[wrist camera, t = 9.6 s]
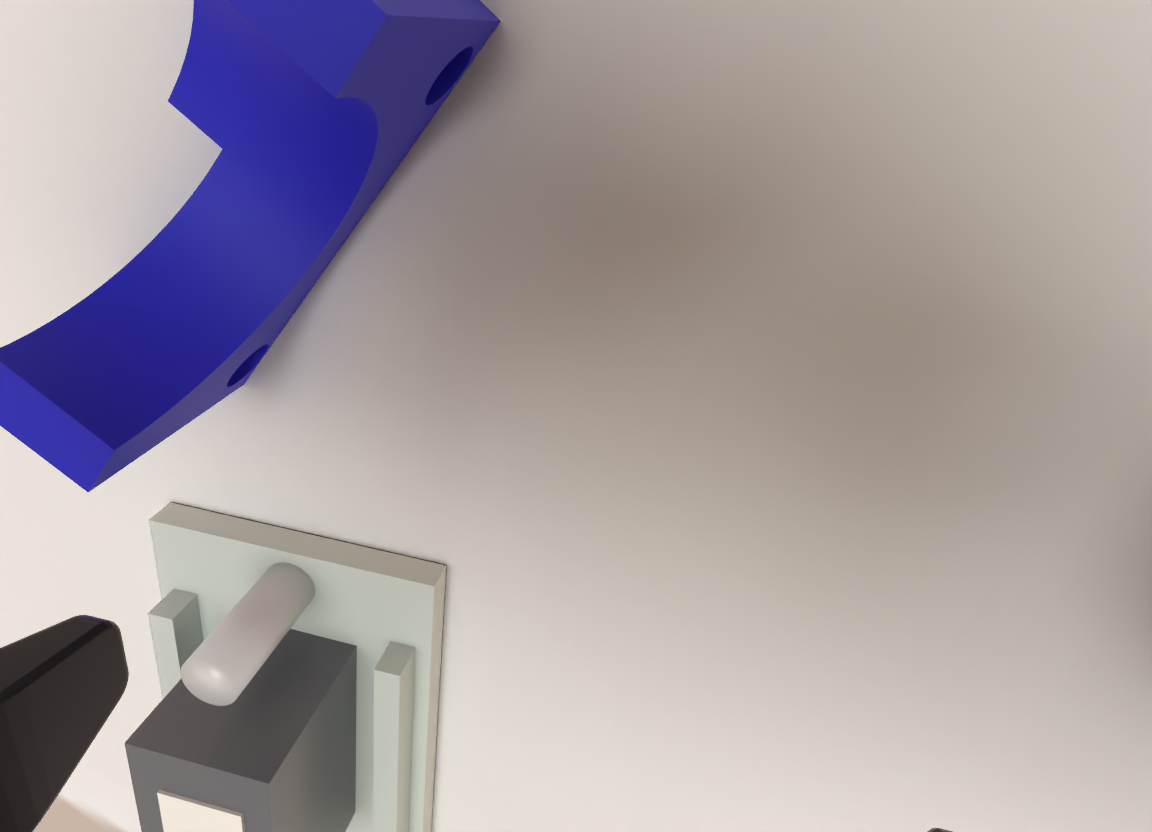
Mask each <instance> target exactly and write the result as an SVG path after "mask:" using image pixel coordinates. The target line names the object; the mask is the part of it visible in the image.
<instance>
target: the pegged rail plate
mask: <svg viewBox="0 0 1152 832" xmlns="http://www.w3.org/2000/svg"><path fill="white" fill-rule="evenodd" d="M149 524H150V530H151V536H152V542H153V549H154V555H155V561H156V567H157V573H158V580H159V586H160V592H161V598H162V600H161V601H160V602H159V603H158V604H157V605H156V606H155V607H154V608H153V609H152V610H151V611H150V612H149V613H148V617H149V622H150V628H151V634H152V640H153V646H154V651H155V657H156V663H157V669H158V674H159V680H160V686H161V692H162V697H163V699H164V698H165V696H166V695H167V694H168V693H169V692H170V691H171V690H172V688H173V687H174V686H175V685H176V684H177V683H178V682H179V680H180V679H181V678H182V681H183V683H184V685H185V686H186V688H187V689H188V690H189V691H190V692H191V693H192V694H193V695H194V696H196V697H197V698H199V699H200V700H202V701H204V702H206V703H209V704H212V705H217V706H225V705H229V704H231V703H233V702H234V701H235V700H236V699H237V698H238V696H239V695H240V694H241V692H242V691H243V690H244V688H245V687H246V686H247V685H248V683H249V682H250V681H251V679H252V678H253V677H254V675H255V674H256V673H257V671H258V670H259V669H260V668H261V666H262V665H263V664H264V662H265V661H266V660H267V658H268V657H269V656H270V654H271V653H272V652H273V651H274V649H275V648H276V647H277V645H278V644H279V643H280V641H281V640H282V639H283V637H284V636H285V635H286V634H287V632H288V631H289V630H290V629H294V630H297V631H301V632H305V633H309V634H313V635H317V636H321V637H325V638H329V639H332V640H336V641H340V642H344V643H348V644H352V645H356V646H357V678H356V804H355V814H354V816H353V818H352V820H351V822H350V824H349V826H348V828H347V830H346V832H431V826H432V809H433V791H434V773H435V756H436V738H437V721H438V703H439V685H440V668H441V650H442V632H443V615H444V597H445V579H446V565H442V564H438V563H433V562H429V561H424V560H420V559H416V558H411V557H407V556H403V555H398V554H394V553H390V552H385V551H381V550H376V549H372V548H368V547H363V546H359V545H355V544H350V543H346V542H342V541H337V540H333V539H328V538H324V537H320V536H315V535H311V534H307V533H302V532H298V531H294V530H289V529H285V528H280V527H276V526H272V525H267V524H263V523H259V522H254V521H250V520H246V519H241V518H237V517H232V516H228V515H224V514H219V513H215V512H211V511H206V510H202V509H198V508H193V507H189V506H184V505H180V504H176V503H171V502H170V503H169V504H168V505H167V506H166V507H164V508H163V509H162V510H161V511H159V512H158V513H157V514H156V515H155V516H153V517H152V518H151V519H150V520H149Z"/></svg>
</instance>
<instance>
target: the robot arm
mask: <svg viewBox="0 0 1152 832" xmlns="http://www.w3.org/2000/svg"><path fill="white" fill-rule="evenodd" d="M128 675H129V673H128V667H127V662H126V657H125V652H124V647H123V642H122V637H121V632H120V629H119V627H118V626H117V625H116V624H115V623H114V622H112V621H109V620H105V619H101V618H97V617H93V616H88V615H79V616H75V617H72V618H70V619H67V620H65V621H63V622H60V623H58V624H56V625H53V626H51V627H49V628H46V629H44V630H42V631H39V632H37V633H35V634H32V635H30V636H28V637H25V638H23V639H21V640H18V641H16V642H14V643H11V644H9V645H7V646H4V647H2V648H0V832H32V831H33V830H34V829H35V827H36V826H37V825H38V823H39V822H40V821H41V819H42V818H43V816H44V815H45V813H46V812H47V810H48V809H49V807H50V806H51V805H52V803H53V802H54V800H55V799H56V797H57V796H58V794H59V793H60V791H61V790H62V788H63V786H64V785H65V783H66V782H67V780H68V779H69V777H70V776H71V774H72V773H73V771H74V769H75V768H76V766H77V765H78V763H79V762H80V760H81V759H82V757H83V756H84V754H85V752H86V751H87V749H88V748H89V746H90V745H91V743H92V742H93V740H94V739H95V737H96V735H97V734H98V732H99V731H100V729H101V728H102V726H103V725H104V723H105V722H106V720H107V718H108V717H109V715H110V714H111V712H112V711H113V709H114V708H115V706H116V705H117V703H118V701H119V700H120V698H121V697H122V695H123V693H124V691H125V688H126V685H127V682H128ZM928 832H952V831H948V830H944V829H940V828H933V829H931V830H929V831H928Z"/></svg>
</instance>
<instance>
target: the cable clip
mask: <svg viewBox="0 0 1152 832" xmlns="http://www.w3.org/2000/svg"><path fill="white" fill-rule="evenodd" d="M499 23H500V20H499V19H498V18H497V17H496V16H495V15H494V14H493V13H492V12H491V11H490V10H489V9H488V8H487V7H486V6H485V5H484V4H483V3H481V2H480V1H479V0H194V11H193V23H192V30H191V37H190V41H189V45H188V49H187V53H186V57H185V60H184V63H183V66H182V69H181V72H180V75H179V77H178V79H177V82H176V84H175V87H174V89H173V91H172V93H171V95H170V98H169V100H168V102H170V103H171V104H172V105H173V106H174V107H175V108H176V109H178V110H179V111H180V112H181V113H182V114H183V115H184V116H186V117H187V118H188V119H189V120H190V121H191V122H193V123H194V124H195V125H196V126H197V127H198V128H199V129H201V130H202V131H203V132H204V133H205V134H206V135H207V136H209V137H210V138H211V139H212V140H213V141H214V142H215V143H217V144H218V145H219V146H220V147H221V148H222V151H221V153H220V155H219V156H218V158H217V159H216V161H215V163H214V164H213V166H212V167H211V169H210V170H209V172H208V174H207V175H206V176H205V178H204V179H203V181H202V182H201V183H200V185H199V186H198V188H197V189H196V190H195V192H194V193H193V194H192V196H191V197H190V198H189V199H188V201H187V202H186V203H185V205H184V206H183V207H182V208H181V209H180V211H179V212H178V213H177V214H176V215H175V216H174V218H173V219H172V220H171V221H170V222H169V223H168V224H167V225H166V227H165V228H164V229H163V230H162V231H161V232H160V233H159V234H158V235H157V236H156V237H155V238H154V239H153V240H152V241H151V242H150V243H149V244H148V245H147V246H146V247H145V248H144V249H143V250H142V251H141V252H140V253H139V254H138V255H137V256H136V257H135V258H134V259H132V260H131V261H130V262H129V263H128V264H127V265H126V266H125V267H124V268H123V269H121V270H120V271H119V272H118V273H117V274H115V275H114V276H113V277H112V278H111V279H109V280H108V281H107V282H106V283H105V284H103V285H102V286H101V287H99V288H98V289H97V290H95V291H94V292H93V293H92V294H90V295H89V296H88V297H86V298H85V299H83V300H82V301H80V302H79V303H78V304H76V305H75V306H73V307H72V308H71V309H69V310H68V311H66V312H64V313H63V314H61V315H60V316H58V317H57V318H55V319H54V320H52V321H50V322H49V323H47V324H45V325H43V326H42V327H40V328H38V329H37V330H35V331H33V332H31V333H30V334H28V335H26V336H24V337H22V338H20V339H18V340H16V341H14V342H12V343H10V344H8V345H6V346H4V347H1V348H0V426H2V427H3V428H4V429H6V430H7V431H8V432H10V433H11V434H12V435H13V436H15V437H16V438H17V439H19V440H20V441H21V442H23V443H24V444H25V445H27V446H28V447H29V448H31V449H32V450H33V451H35V452H36V453H37V454H38V455H40V456H41V457H42V458H44V459H45V460H46V461H48V462H49V463H50V464H52V465H53V466H54V467H56V468H57V469H58V470H59V471H61V472H62V473H63V474H65V475H66V476H67V477H69V478H70V479H71V480H73V481H74V482H75V483H77V484H78V485H79V486H80V487H82V488H83V489H84V490H86V491H87V492H89V491H91V490H92V489H94V488H95V487H97V486H98V485H99V484H101V483H102V482H104V481H105V480H107V479H108V478H110V477H111V476H112V475H114V474H115V473H117V472H118V471H120V470H121V469H123V468H124V467H125V466H127V465H128V464H130V463H131V462H133V461H134V460H136V459H137V458H138V457H140V456H141V455H143V454H144V453H146V452H147V451H149V450H150V449H151V448H153V447H154V446H156V445H157V444H159V443H160V442H161V441H163V440H164V439H166V438H167V437H169V436H170V435H172V434H173V433H174V432H176V431H177V430H179V429H180V428H182V427H183V426H185V425H186V424H187V423H189V422H190V421H192V420H193V419H195V418H196V417H198V416H199V415H200V414H202V413H203V412H205V411H206V410H208V409H209V408H211V407H212V406H213V405H215V404H216V403H218V402H219V401H221V400H222V399H224V398H225V397H226V396H228V395H229V394H231V393H232V392H234V391H235V390H236V389H238V388H239V387H241V386H242V385H244V383H245V382H246V380H247V379H248V378H249V376H250V375H251V373H252V372H253V371H254V369H255V368H256V366H257V365H258V363H259V362H260V361H261V359H262V358H263V356H264V355H265V354H266V352H267V351H268V349H269V348H270V347H271V345H272V344H273V342H274V341H275V339H276V338H277V337H278V335H279V334H280V332H281V331H282V330H283V328H284V327H285V325H286V324H287V322H288V321H289V320H290V318H291V317H292V315H293V314H294V313H295V311H296V310H297V308H298V307H299V305H300V304H301V303H302V301H303V300H304V298H305V297H306V296H307V294H308V293H309V291H310V290H311V289H312V287H313V286H314V284H315V283H316V281H317V280H318V279H319V277H320V276H321V274H322V273H323V272H324V270H325V269H326V267H327V266H328V264H329V263H330V262H331V260H332V259H333V257H334V256H335V255H336V253H337V252H338V250H339V249H340V247H341V246H342V245H343V243H344V242H345V240H346V239H347V238H348V236H349V235H350V233H351V232H352V231H353V229H354V228H355V226H356V225H357V223H358V222H359V221H360V219H361V218H362V216H363V215H364V214H365V212H366V211H367V209H368V208H369V206H370V205H371V204H372V202H373V201H374V199H375V198H376V197H377V195H378V194H379V192H380V191H381V189H382V188H383V187H384V185H385V184H386V182H387V181H388V180H389V178H390V177H391V175H392V174H393V173H394V171H395V170H396V168H397V167H398V165H399V164H400V163H401V161H402V160H403V158H404V157H405V156H406V154H407V153H408V151H409V150H410V148H411V147H412V146H413V144H414V143H415V141H416V140H417V139H418V137H419V136H420V134H421V133H422V132H423V130H424V129H425V127H426V126H427V124H428V123H429V122H430V120H431V119H432V117H433V116H434V115H435V113H436V112H437V110H438V109H439V107H440V106H441V105H442V103H443V102H444V100H445V99H446V98H447V96H448V95H449V93H450V92H451V90H452V89H453V88H454V86H455V85H456V83H457V82H458V81H459V79H460V78H461V76H462V75H463V74H464V72H465V71H466V69H467V68H468V66H469V65H470V64H471V62H472V61H473V59H474V58H475V57H476V55H477V54H478V52H479V51H480V49H481V48H482V47H483V45H484V44H485V42H486V41H487V40H488V38H489V37H490V35H491V34H492V32H493V31H494V30H495V28H496V27H497V25H498V24H499Z"/></svg>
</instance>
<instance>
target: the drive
mask: <svg viewBox="0 0 1152 832" xmlns="http://www.w3.org/2000/svg"><path fill="white" fill-rule="evenodd" d="M356 678H357V646H356V645H352V644H348V643H344V642H340V641H336V640H332V639H329V638H325V637H321V636H317V635H313V634H309V633H305V632H301V631H297V630H294V629H290V630H289V631H288V632H287V634H286V635H285V636H284V637H283V639H282V640H281V641H280V643H279V644H278V645H277V647H276V648H275V649H274V651H273V652H272V653H271V654H270V656H269V657H268V658H267V660H266V661H265V662H264V664H263V665H262V666H261V668H260V669H259V670H258V671H257V673H256V674H255V675H254V677H253V678H252V679H251V681H250V682H249V683H248V685H247V686H246V687H245V688H244V690H243V691H242V692H241V694H240V695H239V696H238V698H237V699H236V700H235V701H234V702H233V703H231V704H229V705H225V706H217V705H212V704H209V703H206V702H204V701H202V700H200V699H199V698H197V697H196V696H194V695H193V694H192V693H191V692H190V691H189V690H188V689H187V688H186V686H185V685H184V683H183V681H182V678H181V679H180V680H179V682H178V683H177V684H176V685H175V686H174V687H173V688H172V690H171V691H170V692H169V693H168V694H167V695H166V696H165V698H164V699H163V700H162V701H161V702H160V703H159V704H158V706H157V707H156V708H155V709H154V710H153V711H152V712H151V714H150V715H149V716H148V717H147V718H146V719H145V720H144V722H143V723H142V724H141V725H140V726H139V727H138V728H137V730H136V731H135V732H134V733H133V734H132V735H131V736H130V738H129V739H128V740H127V741H126V742H125V748H126V753H127V758H128V763H129V768H130V773H131V779H132V784H133V789H134V794H135V799H136V804H137V809H138V815H139V820H140V825H141V830H142V832H346V830H347V828H348V826H349V824H350V822H351V820H352V818H353V816H354V814H355V804H356Z"/></svg>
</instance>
